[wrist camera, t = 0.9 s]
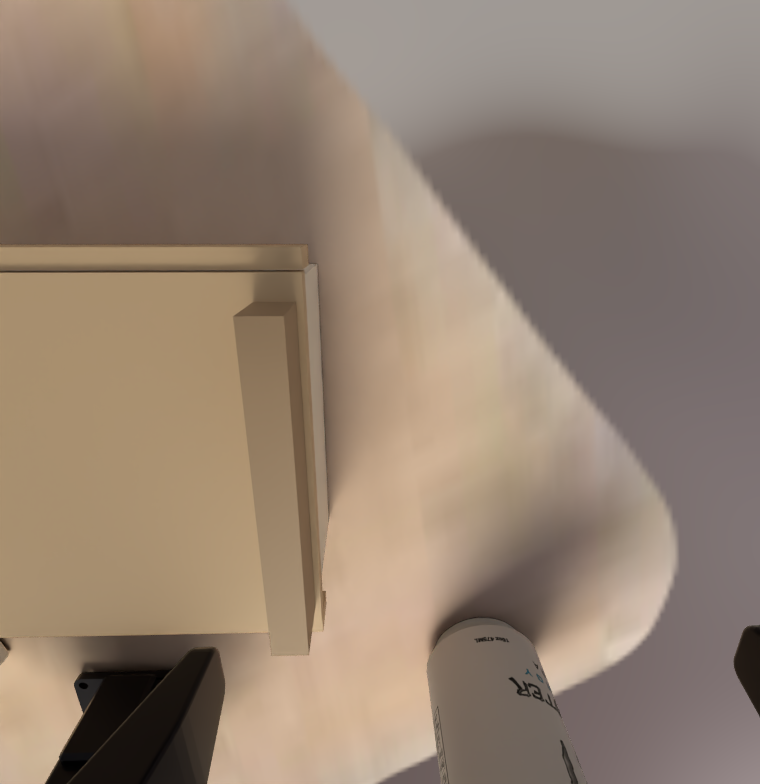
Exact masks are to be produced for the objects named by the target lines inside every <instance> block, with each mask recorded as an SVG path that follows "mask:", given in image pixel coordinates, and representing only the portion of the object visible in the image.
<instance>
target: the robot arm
mask: <svg viewBox="0 0 760 784" xmlns="http://www.w3.org/2000/svg"><path fill="white" fill-rule="evenodd" d="M734 668H735V671H736V674H737V676H738V678H739V680H740V682H741V684H742V686H743V687H744V689H745V691H746V693H747V695H748V696H749V698H750V700H751V702H752V703H753V705H754V707H755V709H756V711H757V712H758V714H759V716H760V625H752V626H748V627H746V628H745V629H744V631H743V633H742V636H741V639H740V642H739V644H738V647H737V650H736V653H735V656H734ZM74 687H75V690H76V693H77V696H78V699H79V702H80V705H81V708H82V711H83V715H82V717H81V719H80V720H79V722H78V724H77V726H76V727H75V729H74V731H73V732H72V734H71V736H70V738H69V739H68V741H67V743H66V745H65V746H64V748H63V750H62V752H61V753H60V756H59V760H58V762H57V763H56V765H55V767H54V769H53V770H52V772H51V774H50V776H49V777H48V779H47V781H46V783H45V784H207V781H208V776H209V771H210V766H211V761H212V755H213V750H214V745H215V740H216V735H217V730H218V725H219V720H220V715H221V710H222V705H223V700H224V694H225V679H224V674H223V669H222V664H221V659H220V654H219V651H218V649H217V648H216V647H197V648H193V649H191V650H190V651H189V652H188V653H187V654H186V655H185V656H184V657H183V658H182V659H181V660H180V661H179V663H178V664H177V665H176V666H175V667H174V668H173V669H172V670H171V671H131V672H85V673H81V674H80V675H79V676H78V678H77V680H76V681H75V683H74Z"/></svg>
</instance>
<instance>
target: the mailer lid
mask: <svg viewBox="0 0 760 784" xmlns="http://www.w3.org/2000/svg"><path fill="white" fill-rule="evenodd" d="M308 265H309V262H308V244H0V270H88V271H0V638H19V637H70V636H121V635H171V634H222V633H269V639H270V648H271V656H297V655H309V650H310V643H311V635H312V632H323V629H324V620H325V611H326V591H322V575H321V557H320V539H319V521H318V503H317V485H316V468H315V450H314V432H313V414H312V396H311V378H310V360H309V342H308V324H307V306H306V288H305V270H303V269H304V268H305V267H307V266H308Z"/></svg>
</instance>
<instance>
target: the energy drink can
mask: <svg viewBox="0 0 760 784" xmlns="http://www.w3.org/2000/svg"><path fill="white" fill-rule="evenodd" d="M427 678H428V685H429V693H430V701H431V709H432V716H433V724H434V732H435V740H436V747H437V755H438V762H439V771H440V778H441V784H587V781H586V779H585V776H584V774H583V771H582V769H581V766H580V764H579V761H578V758H577V756H576V753H575V751H574V748H573V745H572V743H571V740H570V738H569V735H568V733H567V730H566V727H565V725H564V723H563V720H562V717H561V715H560V712H559V709H558V707H557V704H556V702H555V699H554V696H553V694H552V691H551V689H550V686H549V684H548V681H547V678H546V676H545V673H544V671H543V668H542V666H541V663H540V660H539V658H538V655H537V653H536V650H535V647H534V646H533V644H532V643H531V642H530V640H529V639H528V638H526V637H525V636H524V635H523V634H521V633H519V632H518V631H516V630H515V629H514V628H513V627H511V626H510V625H509V624H507V623H505V622H503V621H500V620H497V619H492V618H474V619H468V620H465V621H462V622H459V623H457V624H455V625H453V626H452V627H450V628H449V629H448V630H446V631H445V632H444V633H443V634H442V635H441V637H440V638H439V640H438V641H437V643H436V646H435V648H434V650H433V651H432V653H431V655H430V657H429V660H428V663H427Z"/></svg>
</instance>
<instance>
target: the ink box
mask: <svg viewBox="0 0 760 784" xmlns="http://www.w3.org/2000/svg"><path fill="white" fill-rule="evenodd" d="M8 655H9V652H8V651H7V649H6V648H5V647H4V645H3V644H2V643H1V641H0V665H1V664H2V663H3V662H4V661H5V659H6V658H7V657H8Z"/></svg>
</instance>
